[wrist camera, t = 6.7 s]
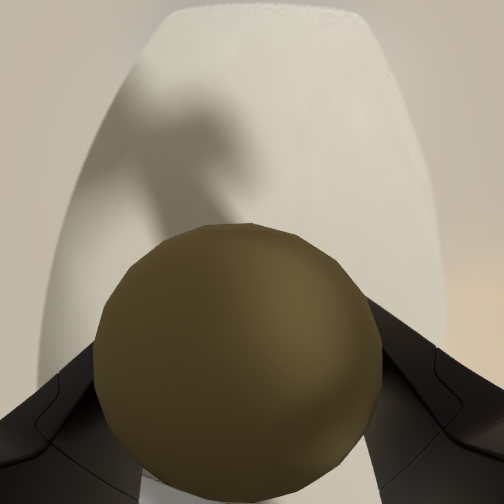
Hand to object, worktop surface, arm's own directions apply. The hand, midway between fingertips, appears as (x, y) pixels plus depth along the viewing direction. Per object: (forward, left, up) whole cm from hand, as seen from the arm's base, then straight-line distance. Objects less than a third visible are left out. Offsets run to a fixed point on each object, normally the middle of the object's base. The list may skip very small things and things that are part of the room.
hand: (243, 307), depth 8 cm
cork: (-1, +1, -7) cm, 7 cm away
